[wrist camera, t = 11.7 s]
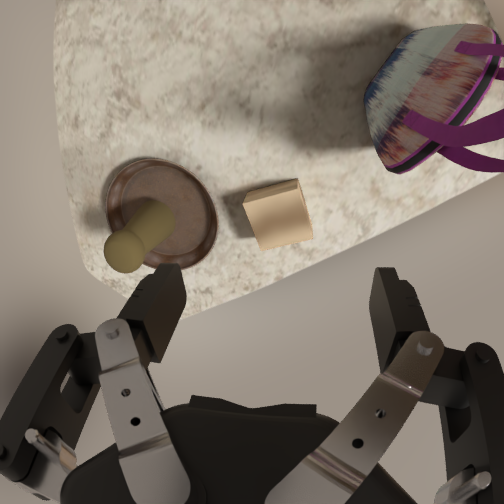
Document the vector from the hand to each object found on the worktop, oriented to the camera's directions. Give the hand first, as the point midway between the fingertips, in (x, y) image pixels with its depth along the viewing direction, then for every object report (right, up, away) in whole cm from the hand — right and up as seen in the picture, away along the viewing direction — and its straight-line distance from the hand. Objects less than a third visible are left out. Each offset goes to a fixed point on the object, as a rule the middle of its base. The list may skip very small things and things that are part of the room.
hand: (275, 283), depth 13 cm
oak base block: (+3, +7, +30) cm, 31 cm away
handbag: (+19, +22, +19) cm, 35 cm away
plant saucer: (-14, +8, +34) cm, 37 cm away
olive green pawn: (-14, +6, +31) cm, 35 cm away
